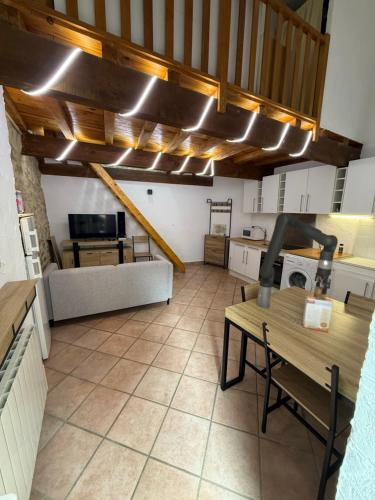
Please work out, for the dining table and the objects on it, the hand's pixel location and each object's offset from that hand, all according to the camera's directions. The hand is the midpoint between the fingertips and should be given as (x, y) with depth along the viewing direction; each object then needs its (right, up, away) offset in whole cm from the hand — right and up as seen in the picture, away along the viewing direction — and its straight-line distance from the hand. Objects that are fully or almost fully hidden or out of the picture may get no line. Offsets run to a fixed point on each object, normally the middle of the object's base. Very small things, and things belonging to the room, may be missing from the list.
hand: (320, 291), depth 129 cm
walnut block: (0, -5, +1) cm, 5 cm away
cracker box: (-1, -25, +5) cm, 26 cm away
